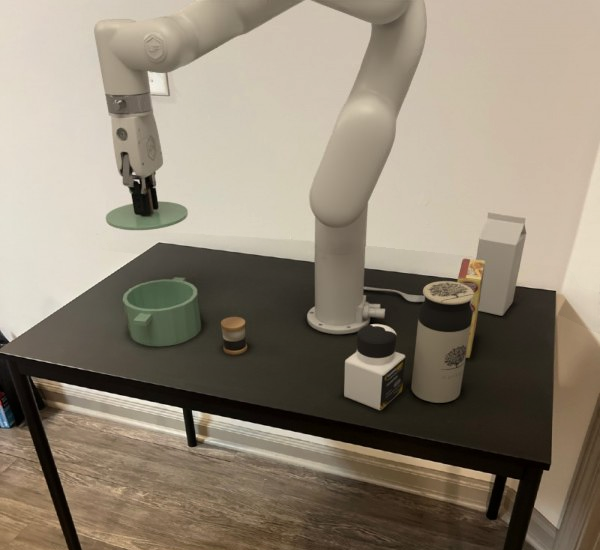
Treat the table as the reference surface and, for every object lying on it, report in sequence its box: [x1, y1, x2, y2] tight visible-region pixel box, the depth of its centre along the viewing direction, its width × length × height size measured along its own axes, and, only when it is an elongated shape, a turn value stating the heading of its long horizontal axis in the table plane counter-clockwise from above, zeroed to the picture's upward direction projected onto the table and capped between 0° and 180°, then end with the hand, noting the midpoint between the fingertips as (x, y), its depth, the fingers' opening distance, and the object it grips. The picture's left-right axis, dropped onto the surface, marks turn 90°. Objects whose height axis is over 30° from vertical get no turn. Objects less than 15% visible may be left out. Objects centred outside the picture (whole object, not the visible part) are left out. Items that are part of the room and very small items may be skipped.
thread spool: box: [220, 316, 248, 356], centre depth 112 cm, size 4×4×6 cm
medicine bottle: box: [343, 323, 406, 411], centre depth 97 cm, size 7×7×12 cm
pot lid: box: [105, 187, 189, 231], centre depth 113 cm, size 15×15×6 cm
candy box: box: [456, 258, 485, 359], centre depth 108 cm, size 9×4×15 cm, turn 163°
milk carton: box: [475, 212, 527, 317], centre depth 121 cm, size 7×7×19 cm
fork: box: [363, 285, 425, 303], centre depth 131 cm, size 3×24×2 cm, turn 63°
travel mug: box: [410, 280, 474, 404], centre depth 95 cm, size 8×8×18 cm
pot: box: [122, 276, 202, 347], centre depth 118 cm, size 14×19×8 cm
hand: (146, 210), depth 114 cm, fingers closed on pot lid, 2 cm apart
